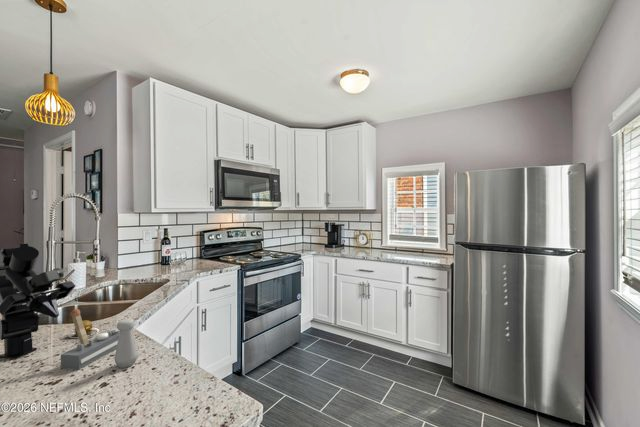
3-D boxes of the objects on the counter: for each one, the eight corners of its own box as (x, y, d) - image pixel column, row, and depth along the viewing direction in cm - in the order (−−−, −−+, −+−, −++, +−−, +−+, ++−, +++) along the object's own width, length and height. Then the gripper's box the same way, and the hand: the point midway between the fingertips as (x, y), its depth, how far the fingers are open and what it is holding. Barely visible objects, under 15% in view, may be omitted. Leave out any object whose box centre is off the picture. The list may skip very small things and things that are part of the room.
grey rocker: (107, 333, 102) (107, 331, 102) (111, 331, 103) (111, 329, 103) (115, 332, 101) (115, 329, 101) (120, 329, 103) (119, 327, 103)
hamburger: (108, 334, 114) (108, 319, 114) (67, 345, 105) (66, 329, 105) (99, 327, 121) (98, 313, 121) (60, 336, 112) (59, 322, 112)
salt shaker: (126, 370, 86) (125, 324, 85) (109, 368, 87) (108, 323, 87) (142, 360, 91) (141, 317, 91) (126, 359, 92) (125, 316, 92)
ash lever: (78, 347, 91) (67, 311, 91) (85, 344, 93) (74, 309, 94) (85, 345, 91) (73, 309, 91) (92, 341, 93) (81, 307, 93)
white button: (93, 340, 97) (93, 336, 96) (102, 336, 100) (102, 332, 100) (102, 340, 96) (102, 336, 96) (110, 336, 99) (110, 332, 99)
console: (60, 368, 87) (60, 349, 87) (112, 342, 105) (111, 325, 105) (79, 369, 87) (79, 350, 87) (128, 342, 104) (127, 326, 104)
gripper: (5, 267, 85) (40, 307, 83) (70, 257, 103) (99, 290, 101) (-18, 294, 86) (16, 335, 84) (50, 280, 104) (79, 313, 103)
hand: (57, 316), depth 93 cm, fingers closed
